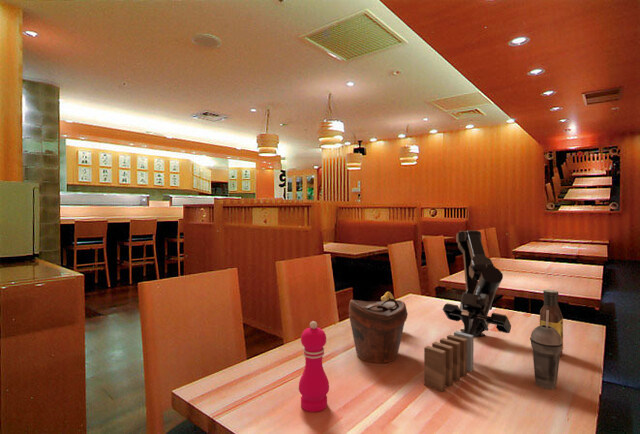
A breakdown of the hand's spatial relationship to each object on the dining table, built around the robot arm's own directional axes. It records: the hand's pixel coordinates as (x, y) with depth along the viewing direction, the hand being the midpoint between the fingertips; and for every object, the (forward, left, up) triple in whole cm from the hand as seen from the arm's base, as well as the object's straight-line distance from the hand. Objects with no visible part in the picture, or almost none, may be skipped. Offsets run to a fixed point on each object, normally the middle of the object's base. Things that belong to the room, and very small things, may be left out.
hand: (466, 342), depth 104 cm
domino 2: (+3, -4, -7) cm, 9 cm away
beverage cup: (+12, +16, -7) cm, 21 cm away
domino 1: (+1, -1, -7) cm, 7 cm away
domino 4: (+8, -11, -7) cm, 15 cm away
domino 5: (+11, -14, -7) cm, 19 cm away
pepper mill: (+16, -45, -7) cm, 49 cm away
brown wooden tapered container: (-11, -23, -7) cm, 27 cm away
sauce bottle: (-7, +32, -7) cm, 33 cm away
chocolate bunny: (-32, -14, -7) cm, 36 cm away
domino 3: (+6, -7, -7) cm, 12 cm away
